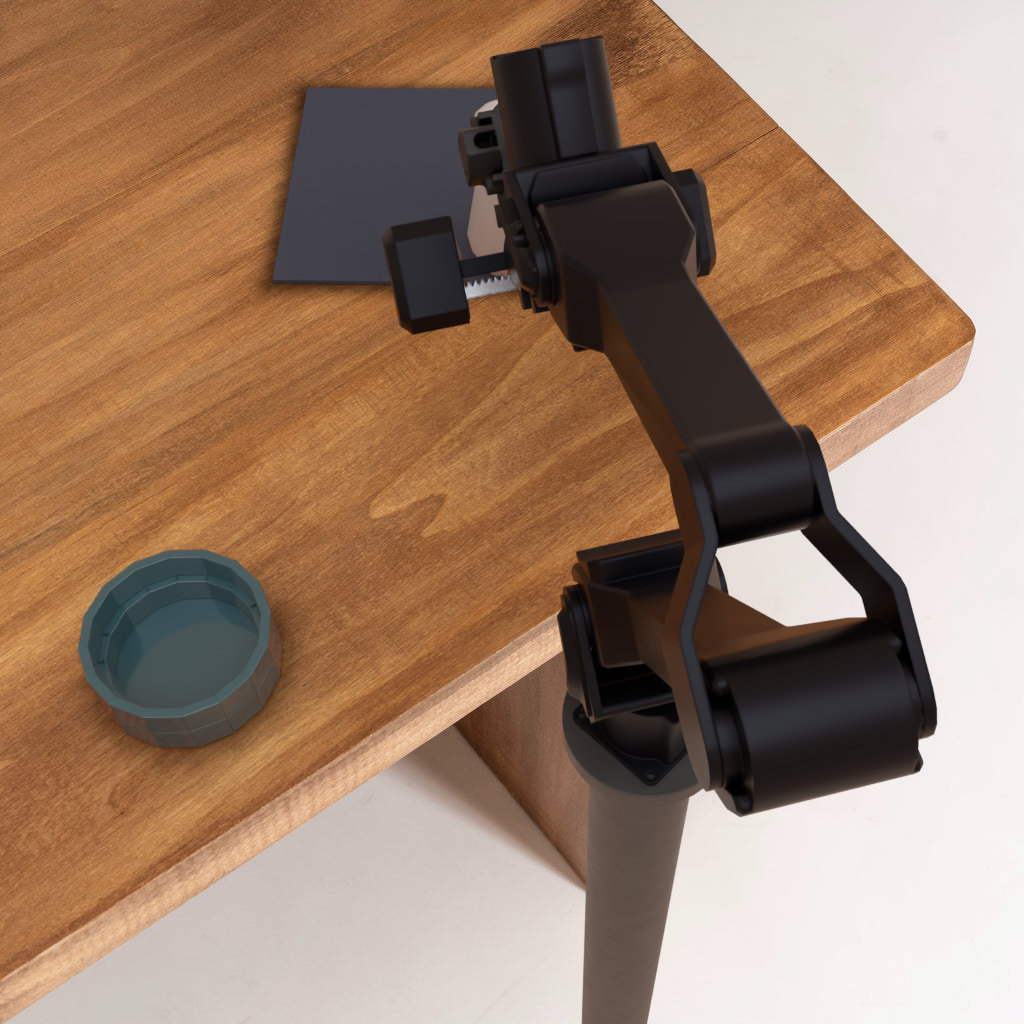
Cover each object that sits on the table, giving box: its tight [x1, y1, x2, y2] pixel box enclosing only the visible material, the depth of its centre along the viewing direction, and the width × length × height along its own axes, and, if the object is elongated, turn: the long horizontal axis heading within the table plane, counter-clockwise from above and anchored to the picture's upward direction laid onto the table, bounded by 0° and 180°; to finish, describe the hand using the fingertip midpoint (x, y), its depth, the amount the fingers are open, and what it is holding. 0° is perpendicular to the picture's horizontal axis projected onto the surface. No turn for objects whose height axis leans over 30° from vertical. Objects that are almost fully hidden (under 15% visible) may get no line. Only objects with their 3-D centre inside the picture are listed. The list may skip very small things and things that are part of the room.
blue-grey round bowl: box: [77, 548, 283, 748], centre depth 83 cm, size 11×11×4 cm
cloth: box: [271, 87, 507, 286], centre depth 106 cm, size 20×20×1 cm
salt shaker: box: [467, 100, 508, 277], centre depth 96 cm, size 6×6×13 cm
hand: (528, 250), depth 91 cm, fingers open, 9 cm apart
